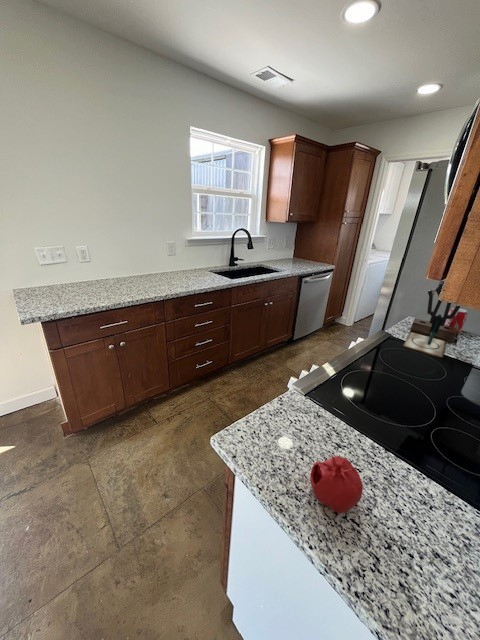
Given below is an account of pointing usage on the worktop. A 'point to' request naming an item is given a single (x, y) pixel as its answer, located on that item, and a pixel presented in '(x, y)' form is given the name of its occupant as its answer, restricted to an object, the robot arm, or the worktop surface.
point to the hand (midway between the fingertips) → (433, 331)
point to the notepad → (425, 345)
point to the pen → (434, 329)
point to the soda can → (457, 319)
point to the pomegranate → (336, 484)
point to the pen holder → (443, 333)
